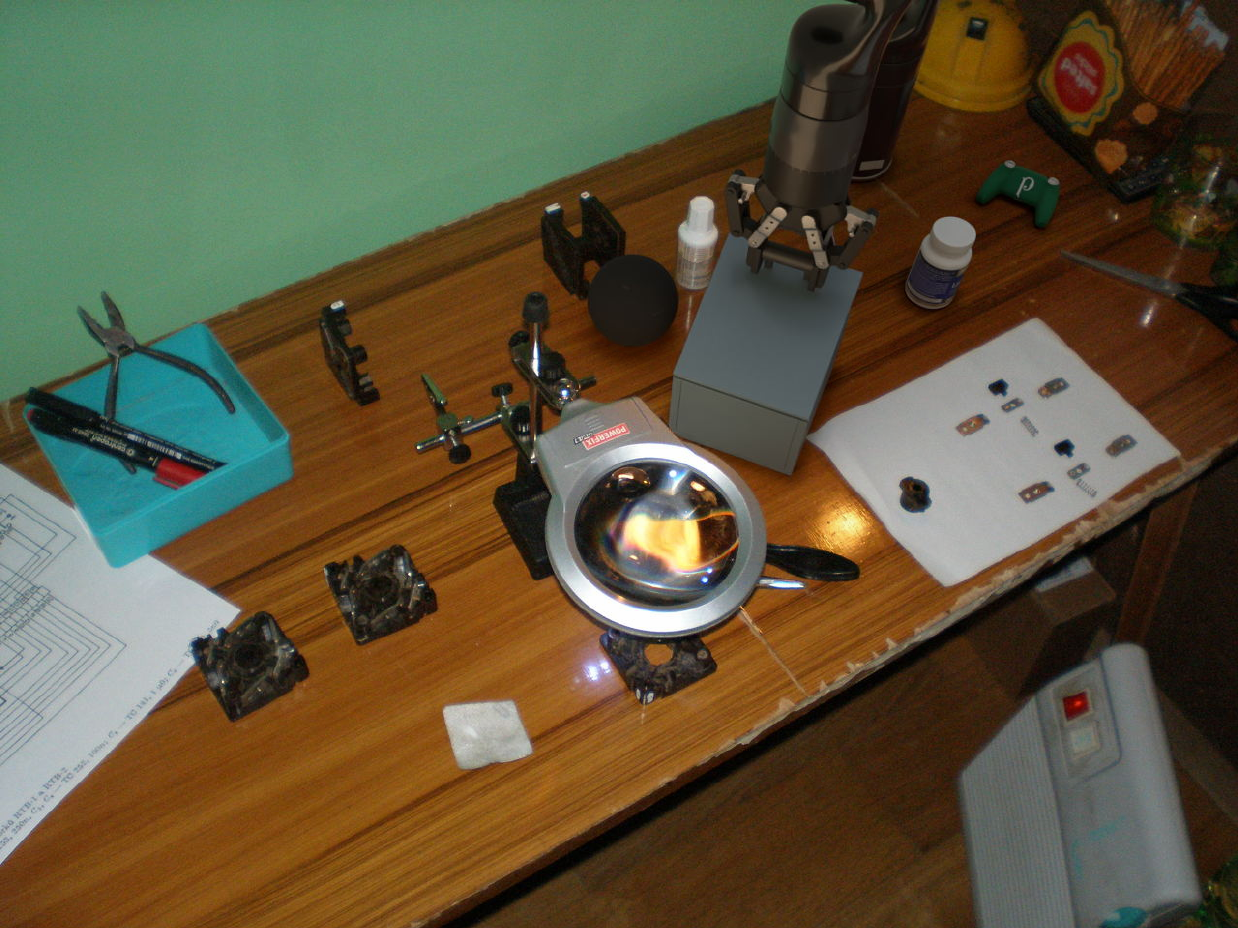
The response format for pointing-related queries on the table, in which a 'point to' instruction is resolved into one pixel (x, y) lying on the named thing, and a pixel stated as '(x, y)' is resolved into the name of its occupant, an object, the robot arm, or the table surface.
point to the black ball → (632, 300)
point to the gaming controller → (1022, 189)
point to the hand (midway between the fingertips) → (784, 275)
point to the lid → (767, 328)
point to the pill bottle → (941, 263)
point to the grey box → (741, 423)
